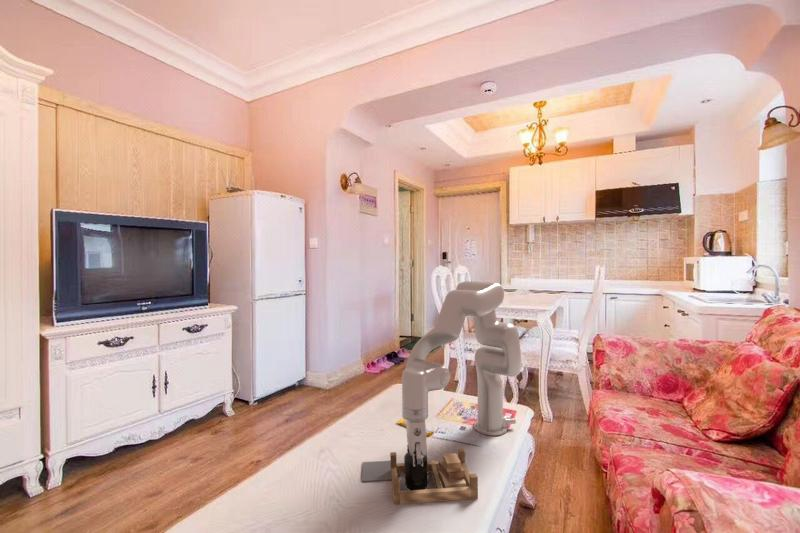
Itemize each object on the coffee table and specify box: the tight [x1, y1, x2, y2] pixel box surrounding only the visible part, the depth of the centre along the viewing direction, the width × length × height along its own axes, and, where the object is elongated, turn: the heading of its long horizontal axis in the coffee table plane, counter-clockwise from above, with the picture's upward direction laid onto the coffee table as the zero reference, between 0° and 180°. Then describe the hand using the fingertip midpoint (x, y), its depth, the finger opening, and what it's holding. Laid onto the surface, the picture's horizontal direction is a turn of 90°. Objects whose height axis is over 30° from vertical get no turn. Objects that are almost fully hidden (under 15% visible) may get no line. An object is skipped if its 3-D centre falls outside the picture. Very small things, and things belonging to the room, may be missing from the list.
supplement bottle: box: [403, 444, 429, 491], centre depth 107 cm, size 7×7×12 cm
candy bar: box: [396, 417, 435, 438], centre depth 142 cm, size 17×4×2 cm, turn 45°
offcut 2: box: [437, 459, 465, 483], centre depth 108 cm, size 5×7×2 cm
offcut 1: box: [442, 452, 461, 472], centre depth 107 cm, size 4×5×2 cm
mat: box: [361, 460, 392, 483], centre depth 114 cm, size 10×10×1 cm
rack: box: [389, 447, 479, 505], centre depth 107 cm, size 23×15×6 cm, turn 95°
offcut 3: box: [438, 467, 467, 488], centre depth 108 cm, size 6×9×3 cm, turn 7°
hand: (415, 469), depth 107 cm, fingers open, 9 cm apart
